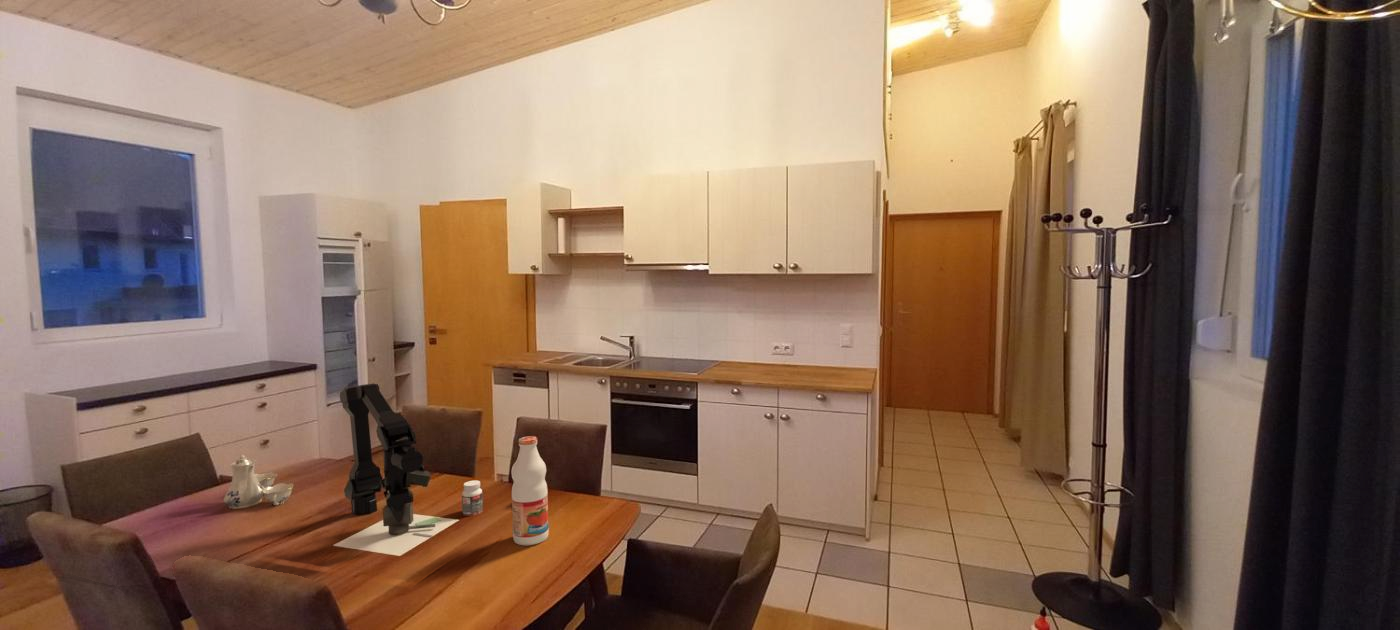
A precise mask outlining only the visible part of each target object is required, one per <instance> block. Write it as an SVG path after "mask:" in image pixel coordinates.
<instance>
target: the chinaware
mask: <svg viewBox="0 0 1400 630" xmlns="http://www.w3.org/2000/svg"><path fill="white" fill-rule="evenodd" d="M255 464H256V459H250V458H249V457H246V455H244V454H241V455H240V456H239V458H238V459H237V460H236V461H235V462H233V463H231V464H229V467H230V468H231V472H232V479H231V484H230V487H229V488H228V490H227V492H226V493H225V495H224V497H223V503H224V504H225V505H227V506H228V508H229V509H231V508H232V509H231V510H233V509H234V510H238V509H240V510H241V509H246V508H249V507H252V506H257V505H259V504H260V503H262V502H263V498H265V500H266V501H267V502H269V503H271V504H273V506H274V505H275V506H279V504H282V503H283V504H285V503H284V502H286V500H288V498H289V497H290V496H291V494H292V491H293V488H294V486H295V483H294V482H293V483H284V482H282V483H281V482H280V483H276V484H275V485H273V484H274V482H275V479H276V478H275V477H277V476H278V473H274V472H273V471H268V472H265V473H263V474H262V473H255ZM283 504H282V505H283Z"/></svg>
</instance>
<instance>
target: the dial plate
mask: <svg viewBox="0 0 1400 630" xmlns="http://www.w3.org/2000/svg"><path fill="white" fill-rule="evenodd" d="M459 521H460V520H459V519H455V518H445V517H439V516H432V515H423V514H416V513H413V522H412V523H411V524H409V526H416V525H427V524H436V526H435V527H430V528H418V529H409V530H408V531H407V532H405V533H403V534H399V535H390V534H389V527H388V526H383V519H382V520H380V521H378V522H376V523H375V524H372V525H371V526H367V527H366V528H364V529H362V530H360V531H358V532H357V533H354V534H353V535H350V536H349V537H346V538H345V539H342V540H341V541H338V542H337V543H335V544H333V547H338V548H346V549H353V550H360V551H365V552H373V553H379V554H384V555H391V556H395V557H396V556H397V557H400V556H403V555H405V554H406V553H408V552H409V551H410V550H413V549H414V548H415V547H418V545H421V544H422V543H424V542H426V541H427V540H429V539H430V538H433V537H434V536H435V535H437V534H439V533H441V532H443V531H444V530H445V529H447V528H448V527H451V526H452V525H454V524H455V523H457V522H459Z"/></svg>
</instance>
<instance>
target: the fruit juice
mask: <svg viewBox="0 0 1400 630" xmlns="http://www.w3.org/2000/svg"><path fill="white" fill-rule="evenodd" d="M537 445H538V437H536V436H534V435H532V436H531V435H530V436H529V435H528V436H523V437H520V438H519V439H518V446H519V450H518V451H519V452H518V456H517V458H516V461H515V462H514V463H513V465H512V468H511V478H512V480H513V484H512V487H511V514H512V515H511V518H512V519H511V520H512V539H513V541H514V543H515V544H517V545H519V546H534V545H538V544H541V543H543V542H544V541H546V540H547V539H548V537H549V531H550V529H549V500H548V494H549V493H548V491H549V490H548V484H547V481H546V475H547V466H546V463H545V461H544V460H543V458H542V457H541V455H540V453H539V451H538V447H537Z"/></svg>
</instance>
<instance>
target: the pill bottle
mask: <svg viewBox="0 0 1400 630" xmlns="http://www.w3.org/2000/svg"><path fill="white" fill-rule="evenodd" d="M480 487H481V481H480V480H469V481H466V482H464V483H463V489H464V490H463V491H462V492H461V493H462V494H461V500H462V501H461V502H462V505H461V506H462V508H461V509H462V515H463V516H465V517H467V516H468V517H471V516H476V515H480V514H481V513H482V512H483V510H484V509H483V508H484V506H483V489H482V487H481V488H480Z"/></svg>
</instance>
